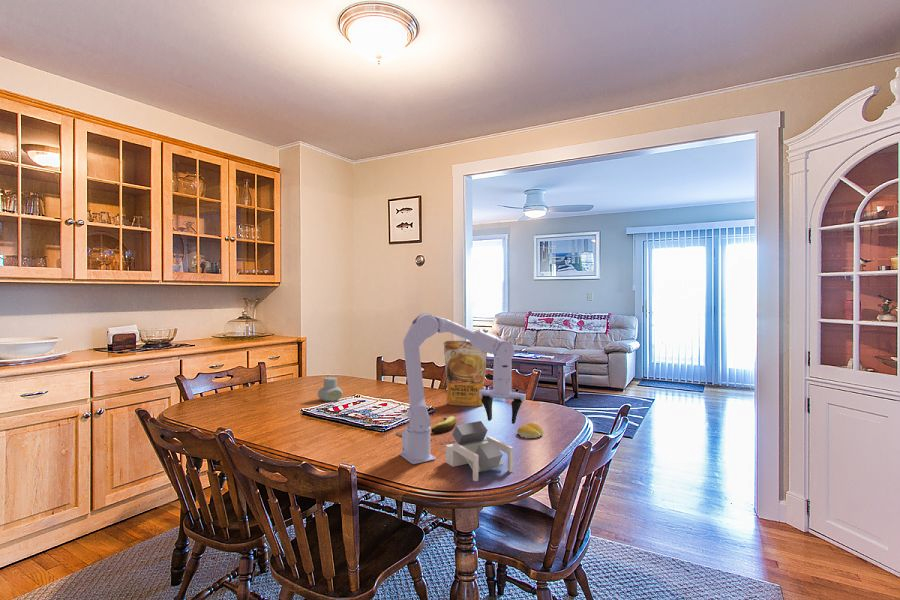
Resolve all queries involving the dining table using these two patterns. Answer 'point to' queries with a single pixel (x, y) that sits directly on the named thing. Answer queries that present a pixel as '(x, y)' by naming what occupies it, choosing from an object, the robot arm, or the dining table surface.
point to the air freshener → (330, 390)
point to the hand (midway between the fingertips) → (501, 421)
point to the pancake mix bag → (464, 373)
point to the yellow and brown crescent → (441, 428)
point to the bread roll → (530, 431)
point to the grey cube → (488, 456)
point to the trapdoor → (471, 438)
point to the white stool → (475, 455)
